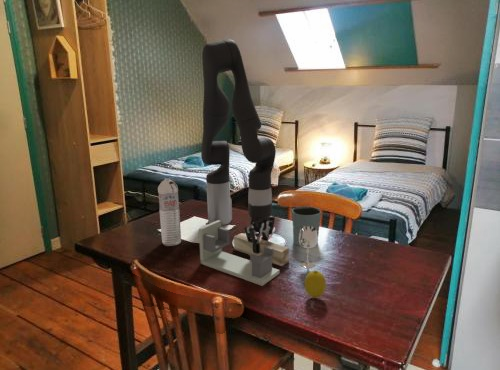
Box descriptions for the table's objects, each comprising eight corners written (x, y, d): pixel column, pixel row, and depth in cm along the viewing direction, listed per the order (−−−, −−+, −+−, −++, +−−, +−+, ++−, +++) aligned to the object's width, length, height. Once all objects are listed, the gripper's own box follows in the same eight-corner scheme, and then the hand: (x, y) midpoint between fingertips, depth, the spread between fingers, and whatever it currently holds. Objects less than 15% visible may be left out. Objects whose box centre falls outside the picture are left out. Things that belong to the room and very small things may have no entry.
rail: (241, 246, 139) (241, 232, 137) (288, 262, 126) (289, 247, 125) (234, 250, 136) (233, 236, 134) (281, 266, 123) (281, 252, 122)
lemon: (302, 293, 108) (302, 266, 105) (322, 292, 108) (323, 265, 106) (306, 304, 102) (307, 276, 100) (327, 303, 103) (328, 275, 101)
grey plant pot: (287, 245, 138) (288, 213, 135) (295, 235, 147) (296, 204, 144) (316, 250, 134) (317, 216, 131) (322, 238, 143) (324, 207, 140)
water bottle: (183, 239, 145) (179, 173, 138) (178, 247, 138) (173, 177, 132) (165, 238, 145) (160, 172, 139) (159, 246, 139) (153, 177, 132)
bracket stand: (219, 253, 132) (218, 220, 129) (279, 273, 118) (279, 236, 115) (200, 263, 125) (198, 228, 122) (262, 286, 112) (262, 246, 108)
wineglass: (318, 261, 126) (319, 226, 122) (315, 270, 120) (316, 233, 117) (300, 259, 127) (301, 224, 124) (296, 267, 122) (297, 231, 119)
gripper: (263, 193, 134) (263, 240, 138) (236, 204, 123) (238, 255, 127) (282, 197, 129) (281, 245, 134) (256, 209, 118) (257, 261, 123)
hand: (260, 250), depth 130 cm, fingers closed on rail, 4 cm apart
